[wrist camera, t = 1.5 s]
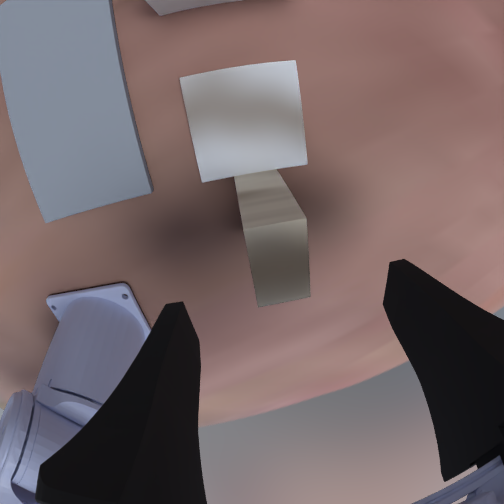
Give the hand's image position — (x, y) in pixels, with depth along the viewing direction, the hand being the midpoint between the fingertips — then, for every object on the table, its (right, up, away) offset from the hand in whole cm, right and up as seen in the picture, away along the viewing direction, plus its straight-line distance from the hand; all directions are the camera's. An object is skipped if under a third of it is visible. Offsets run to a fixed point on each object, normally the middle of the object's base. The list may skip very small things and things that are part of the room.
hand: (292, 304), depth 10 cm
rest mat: (-12, +11, +2) cm, 17 cm away
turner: (-1, +7, +6) cm, 10 cm away
